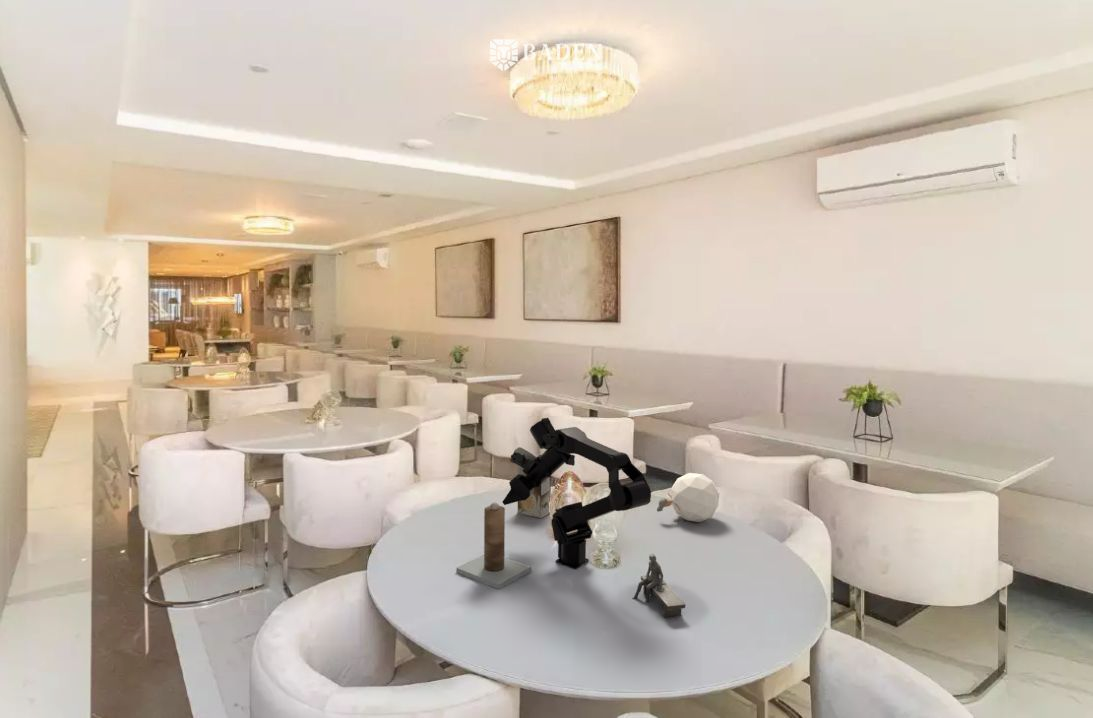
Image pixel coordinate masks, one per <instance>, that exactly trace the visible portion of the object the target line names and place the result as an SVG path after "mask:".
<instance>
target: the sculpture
mask: <svg viewBox="0 0 1093 718" xmlns="http://www.w3.org/2000/svg"><path fill="white" fill-rule="evenodd" d="M648 558H649V561H648V568H647V572H646V574H645V575H641V576H640V581H639V583H638V585H637V589H636V592H635V594H634V596H633V597H632V598H631V600H636V599H638V597H639V594H640V593H641V591H643V592H642V594H643V595H644V596H646V600H644V602H645V603H648V602H650V601H651V599H650V598H651V595H654V596H655V598H657V599H658V601H659V602H660V603H661V604H662V606H663V607H662V617H663V618H664V619H668V618H677V617H682V609H686V604H685V602H684V601H683V600H682V599H681V598H680V597H679V596H678V595H677V594H676V593H675V592H674V591H673V590H672V588H670V587H669V586H668V584H667V582H666V581H664V573H663V571H662V567H661V565H660V564H659V562H658V561H657V557H656V555H655V554H653V553H651V554H649V556H648ZM642 589H643V590H642Z"/></svg>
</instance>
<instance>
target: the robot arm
mask: <svg viewBox="0 0 1093 718" xmlns="http://www.w3.org/2000/svg"><path fill="white" fill-rule="evenodd" d="M529 432H530V434H531V435H532V437H533V439H534V441H535V442H536V444H537V446H538V448H539V450H542V449H543V450H544V452H542V454H539V455H538V456H535V455H534V454H533V453H532V452H530V451H528V450H526V449H524V448H523V447H520V446H519V447H517V448H515V449H514V451H513V453H512V454H511V455H510V459H509V460H510V462H511V463H512V464H514V465H517V467H518V466H520V467H522V468H524V469H523V470H522V471H523V472H524V473H525V477H524V475H521V474H518V473H517V474H516V475H515V476H514V477H513V478H512V479H511V480H510V481H509V482H508V483H509V486H510V490H509V491H508V493H507V494H506V496H505V497H504V499H503V500H502V501H501V502H502V504H503V505H504V506H506V505H511V504H513V503H518V501H522V500H523V501H524V500H526V499H527V498H528V497H530V496H531V495H532V494H533V493H534V488H535V487H539V486H540V485H541V484H542V483H544V482H545V481H546V480H547V479H548V478H549V477H550V476H553V474H554V473H555V472H556V471H558V470H559V469H560V468H561V467H562V466H563V465H564V464H565V465H567V466H575V463H576V462H575V458H576V456H575V455H577V456H580V457H582V458H584V459H586V460H588V461H590V462H593V463H595V464H597V465H599V466H602V467H603V468H605V469H606V472H607V473H608V488H609V490H610V491H609V494H608V495H607V496H604V497H602V498H599V499H597V500H594V501H593V502H590V503H587V504H586V505H585V504H584V505H583V503H582V502H583V501H579V502H574V503H570V504H566V505H564V506H562V507H559V508H556V509H554V511H555V512H554V513H553V514H552V515H551V516H552V518H551V521H550V522H551V523H550V524H551V527H552V534H553V538H554V541H556V543H557V558H556V559H555V563H556V564H559V565H561V566H565V567H568V568H570V569H573V570H577V569H579V568H580V567H582V566H584V565H585V564H587V563H588V562H589V561H590V559H589V558H587V557H586V555H587V554H586V553H587V549H586V548H587V540H588V539H591V538H592V535H593V530H592V528H591V526H590V524H589V521H592V520H594V519H597V518H601V517H602V516H605V515H608V514H610V513H613V512H615V511H616V512H623V511H628V510H632V509H636V508H639V507H643V506H646V505H648V504H650V503H651V501H652V500H651V498H652V491H651V487H650V486H649V484H648V482H647V479H646V478H645V476H644V474H643V472H641V471H640V469H639V468H638V467H636V466H635V465H634V464H633V463H632V461H631V459H630V457H629V455H628V454H627V453H625V452H622V451H619V450H616V449H613V448H611V447H609V446H607V445H604V444H602V443H600V442H598V441H595V440H592V439H590V438H589V437H588V436H587V434H586V433H585V431H584V430H581V429H580V428H578V427H577V426H572V427H571V426H570V427H566V428H565V427H564V428H560V429H555V428H554V426H553V424H552V422H551V420H550V418H549V417H542V418H541V420H539V421H537V422H536V423H534V424H533V425H531V427H530V429H529ZM574 454H575V455H574ZM620 471H622V472H623V473H624V474H625V475H626V476H627V478H629V479H630V480H631V482H627V483H621V481H620V478H619V477H620V474H619V473H620Z"/></svg>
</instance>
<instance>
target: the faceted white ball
mask: <svg viewBox="0 0 1093 718" xmlns="http://www.w3.org/2000/svg"><path fill="white" fill-rule="evenodd" d="M667 495H668V496H669V497H670V499H668V498H661V499H660V500H658V506H657V508H656V512H663V509H664V508H665V507H667V508H668V507H670V506H672V507H673V510H674V511H675V513H676V514H677V515H678V516H679V517H681V518H682V519H684V520H685V521H688V522H689V521H690V522H695V523H702V522H704V521H706V520H708V519H710V518H712V517H713V516H714V514H715V512H716V510H718V507H719V501H720V492H719V490H718V488H717V486H716V485H715V483H714V480H712V479H710V477H708V476H706V475H705V474H703V473H702V474H701V473H694V472H687V473H685V474H684V475H682V476H680V477H678V478H676V481H675V482H674V483H673V485H672V487H671V490H670V493H669V492H667Z"/></svg>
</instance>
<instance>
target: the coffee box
mask: <svg viewBox="0 0 1093 718" xmlns="http://www.w3.org/2000/svg"><path fill="white" fill-rule="evenodd" d="M523 469H524V468H522V467H520V466H518V465H517V475H518V474H521V475H524V477H525V473H524V472H523V471H522V470H523ZM551 476H552V475H551ZM551 476H550V477H549V478H548V479H547V480H546V481H545V482H544V483H542V484H541V485H540V486H539V487H535V488H534V493H533V494H532V495H531V496H530V497H528V498H527V499H526V500H524V501H523V500H522V501H518V502H517V514H520V515H527V516H530V517H535V518H539V519H542V518H544V517H545V516H547V515H549V514H550V513H549V502H550V497H551V498H552V496H551V495H552V494H551V487H552V485H551V484H552V483H551V481H552V477H551Z"/></svg>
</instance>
